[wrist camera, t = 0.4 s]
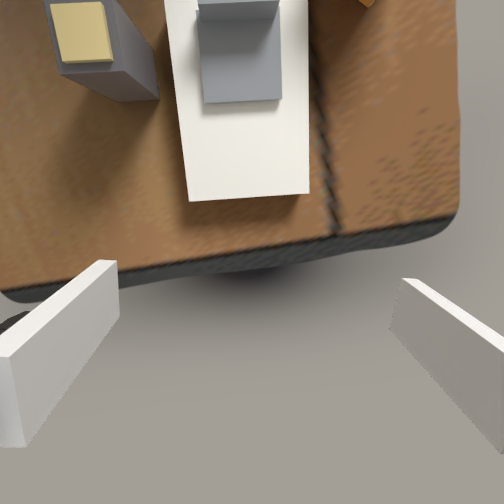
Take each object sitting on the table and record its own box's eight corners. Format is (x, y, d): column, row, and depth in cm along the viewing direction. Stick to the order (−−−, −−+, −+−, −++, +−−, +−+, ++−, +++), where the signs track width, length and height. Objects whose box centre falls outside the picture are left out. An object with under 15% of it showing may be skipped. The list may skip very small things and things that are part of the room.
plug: (108, 52, 33) (37, -8, 21) (153, 50, 34) (108, -11, 22) (117, 102, 35) (55, 72, 23) (160, 99, 35) (121, 68, 23)
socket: (171, 11, 33) (163, -8, 29) (299, 5, 33) (307, -15, 29) (193, 197, 39) (189, 201, 35) (301, 189, 39) (309, 193, 35)
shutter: (196, 13, 29) (190, -10, 25) (278, 9, 29) (285, -15, 25) (205, 104, 32) (201, 96, 27) (281, 100, 32) (287, 91, 28)
